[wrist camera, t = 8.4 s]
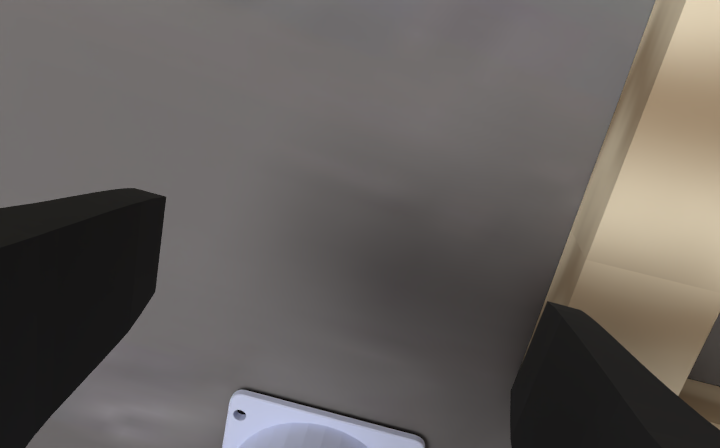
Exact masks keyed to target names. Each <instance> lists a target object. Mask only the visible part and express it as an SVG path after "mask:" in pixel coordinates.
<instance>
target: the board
mask: <svg viewBox="0 0 720 448" xmlns="http://www.w3.org/2000/svg"><path fill="white" fill-rule="evenodd" d="M547 301H549V302H553V303H557V304H560V305H564V306H568V307H571V308H575V309H579V310H581V311H583V312H584V313H586V314H587V315H589V316H590V317H591V318H592V319H594V320H595V321H596V322H597V323H598V324H599V325H601V326H602V327H603V328H604V329H605V330H606V331H607V332H608V333H609V334H610V335H612V336H613V337H614V338H615V339H616V340H617V341H618V342H619V343H620V344H621V345H622V346H623V347H624V348H625V349H626V350H628V351H629V352H630V353H631V354H632V355H633V356H634V357H635V358H636V359H637V360H638V361H639V362H640V363H641V364H643V365H644V366H645V367H646V368H647V369H648V370H649V371H650V372H651V373H652V374H653V375H655V376H656V377H657V378H658V379H659V380H660V381H661V382H662V383H664V384H665V385H666V386H667V387H668V388H669V389H670V390H671V391H673V392H674V393H675V394H676V395H677V396H679V397H680V398H681V399H682V400H683V401H685V402H686V403H687V404H688V405H689V406H691V407H692V408H693V409H694V410H695V411H697V412H698V413H699V414H700V415H701V416H703V417H704V418H705V419H706V420H708V421H709V422H710V423H711V424H713V425H714V426H715V427H717V428H718V429H719V430H720V387H719V386H715V385H711V384H707V383H703V382H699V381H695V380H691V379H687V377H688V375H689V373H690V371H691V369H692V367H693V365H694V363H695V361H696V359H697V357H698V355H699V353H700V351H701V349H702V347H703V345H704V343H705V341H706V339H707V337H708V335H709V333H710V331H711V329H712V327H713V325H714V323H715V321H716V319H717V317H718V315H719V313H720V0H656V1H655V4H654V7H653V9H652V12H651V15H650V18H649V20H648V23H647V26H646V28H645V31H644V34H643V37H642V39H641V42H640V45H639V47H638V50H637V53H636V55H635V58H634V61H633V64H632V66H631V69H630V72H629V74H628V77H627V80H626V83H625V85H624V88H623V91H622V93H621V96H620V99H619V101H618V104H617V107H616V110H615V112H614V115H613V118H612V120H611V123H610V126H609V129H608V131H607V134H606V137H605V139H604V142H603V145H602V148H601V150H600V153H599V156H598V158H597V161H596V164H595V166H594V169H593V172H592V175H591V177H590V180H589V183H588V185H587V188H586V191H585V194H584V196H583V199H582V202H581V204H580V207H579V210H578V212H577V215H576V218H575V221H574V223H573V226H572V229H571V231H570V234H569V237H568V240H567V242H566V245H565V248H564V250H563V253H562V256H561V259H560V261H559V264H558V267H557V269H556V272H555V275H554V277H553V280H552V283H551V286H550V288H549V291H548V294H547V296H546V299H545V302H544V305H543V307H542V310H541V313H540V315H539V318H538V321H537V323H536V326H535V329H534V332H533V334H532V337H531V340H532V338H533V335H534V333H535V330H536V328H537V325H538V323H539V320H540V318H541V315H542V313H543V311H544V308H545V306H546V303H547ZM531 340H530V342H531ZM530 342H529V345H530ZM529 345H528V347H529ZM527 350H528V348H527ZM526 352H527V351H526ZM525 355H526V353H525ZM524 357H525V356H524ZM523 360H524V359H523ZM522 362H523V361H522ZM521 365H522V364H521Z"/></svg>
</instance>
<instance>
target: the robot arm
mask: <svg viewBox="0 0 720 448" xmlns="http://www.w3.org/2000/svg"><path fill="white" fill-rule="evenodd" d="M165 202H166V197H165V196H161V195H157V194H154V193H150V192H146V191H143V190H139V189H135V188H125V189H115V190H108V191H101V192H95V193H89V194H84V195H78V196H72V197H67V198H61V199H56V200H50V201H44V202H39V203H33V204H26V205H19V206H12V207H6V208H0V448H25V447H26V446H27V444H28V443H29V442H30V440H31V439H32V438H33V436H34V435H35V434H36V433H37V432H38V431H39V429H40V428H41V427H42V426H43V425H44V423H45V422H46V421H47V420H48V419H49V418H50V416H51V415H52V414H53V413H54V412H55V411H56V410H57V409H58V408H59V407H60V405H61V404H62V403H63V402H64V401H65V400H66V399H67V398H68V397H69V396H70V395H71V394H72V393H73V391H74V390H75V389H76V388H77V387H78V386H79V385H80V384H81V383H82V382H83V381H84V380H85V379H86V377H87V376H88V375H89V374H90V373H91V372H92V371H93V370H94V369H95V368H96V367H97V366H98V365H99V363H100V362H101V361H102V360H103V359H104V358H105V357H106V356H107V355H108V354H109V353H110V351H111V350H112V349H113V348H114V347H115V346H116V345H117V344H118V343H119V342H120V340H121V339H122V338H123V337H124V336H125V335H126V334H127V333H128V331H129V330H130V329H131V327H132V326H133V324H134V323H135V321H136V320H137V319H138V317H139V316H140V314H141V313H142V311H143V310H144V308H145V307H146V305H147V304H148V302H149V300H150V299H151V297H152V296H153V294H154V293H155V289H156V280H157V271H158V263H159V254H160V245H161V237H162V228H163V219H164V211H165ZM237 410H242V411H244V413H245V414H240V413H238V411H237ZM510 428H511V445H512V448H720V430H719V429H718V428H717V427H715V426H714V425H713V424H711V423H710V422H709V421H708V420H706V419H705V418H704V417H703V416H701V415H700V414H699V413H698V412H697V411H695V410H694V409H693V408H692V407H691V406H689V405H688V404H687V403H686V402H685V401H683V400H682V399H681V398H680V397H679V396H677V395H676V394H675V393H674V392H673V391H671V390H670V389H669V388H668V387H667V386H666V385H665V384H664V383H662V382H661V381H660V380H659V379H658V378H657V377H656V376H655V375H653V374H652V373H651V372H650V371H649V370H648V369H647V368H646V367H645V366H644V365H643V364H641V363H640V362H639V361H638V360H637V359H636V358H635V357H634V356H633V355H632V354H631V353H630V352H629V351H628V350H626V349H625V348H624V347H623V346H622V345H621V344H620V343H619V342H618V341H617V340H616V339H615V338H614V337H613V336H612V335H610V334H609V333H608V332H607V331H606V330H605V329H604V328H603V327H602V326H601V325H599V324H598V323H597V322H596V321H595V320H594V319H592V318H591V317H590V316H589V315H587V314H586V313H584V312H583V311H581V310H579V309H575V308H571V307H568V306H564V305H560V304H557V303H553V302H549V301H547V303H546V306H545V308H544V311H543V313H542V315H541V318H540V320H539V323H538V325H537V328H536V330H535V333H534V335H533V338H532V340H531V342H530V345H529V347H528V350H527V352H526V355H525V357H524V360H523V362H522V365H521V367H520V370H519V372H518V374H517V377H516V379H515V382H514V384H513V387H512V389H511V406H510ZM222 448H425V443H424V440H423V439H422V438H421V437H419V436H417V435H414V434H410V433H406V432H402V431H398V430H395V429H391V428H387V427H383V426H380V425H376V424H372V423H368V422H364V421H361V420H357V419H353V418H349V417H346V416H342V415H338V414H334V413H331V412H327V411H323V410H319V409H315V408H312V407H308V406H304V405H300V404H297V403H293V402H289V401H285V400H281V399H278V398H274V397H270V396H266V395H263V394H259V393H255V392H251V391H248V390H237V391H236V392H235V393H233V395H232V397H231V399H230V402H229V408H228V415H227V421H226V427H225V433H224V439H223V446H222Z"/></svg>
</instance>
